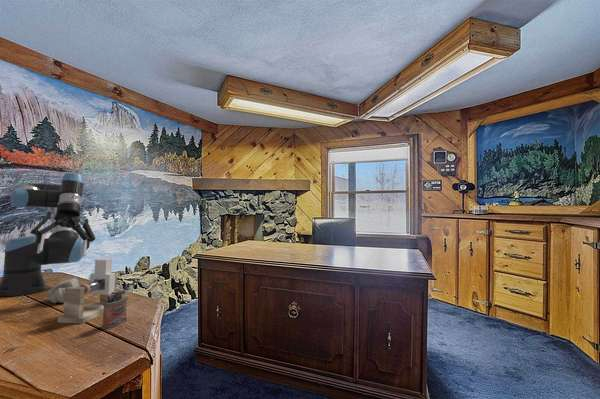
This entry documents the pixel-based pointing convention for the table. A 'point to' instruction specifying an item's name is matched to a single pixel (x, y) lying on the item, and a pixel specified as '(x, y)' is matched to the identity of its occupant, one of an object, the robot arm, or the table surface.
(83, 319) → the pipe stand
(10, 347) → the table surface
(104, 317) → the lighter
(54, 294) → the fossil replica
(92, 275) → the white pipe saddle block
